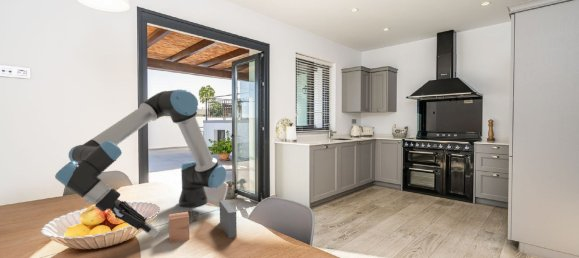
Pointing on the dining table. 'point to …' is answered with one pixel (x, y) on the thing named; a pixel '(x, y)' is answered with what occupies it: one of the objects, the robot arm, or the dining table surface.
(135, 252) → the dining table surface
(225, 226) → the grey board
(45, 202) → the dining table surface
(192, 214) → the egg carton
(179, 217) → the terracotta block
